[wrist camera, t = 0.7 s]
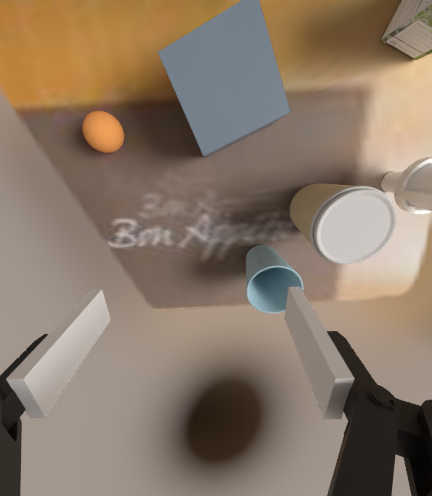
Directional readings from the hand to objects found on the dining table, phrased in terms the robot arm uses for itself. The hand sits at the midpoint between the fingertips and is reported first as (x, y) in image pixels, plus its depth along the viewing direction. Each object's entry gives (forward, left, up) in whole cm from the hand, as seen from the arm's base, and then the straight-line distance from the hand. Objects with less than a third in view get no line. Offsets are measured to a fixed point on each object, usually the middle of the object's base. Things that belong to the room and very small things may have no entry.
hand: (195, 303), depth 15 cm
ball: (-9, -17, -20) cm, 28 cm away
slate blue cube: (-17, -2, -23) cm, 28 cm away
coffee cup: (-7, +16, -23) cm, 29 cm away
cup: (+4, +11, -23) cm, 26 cm away
